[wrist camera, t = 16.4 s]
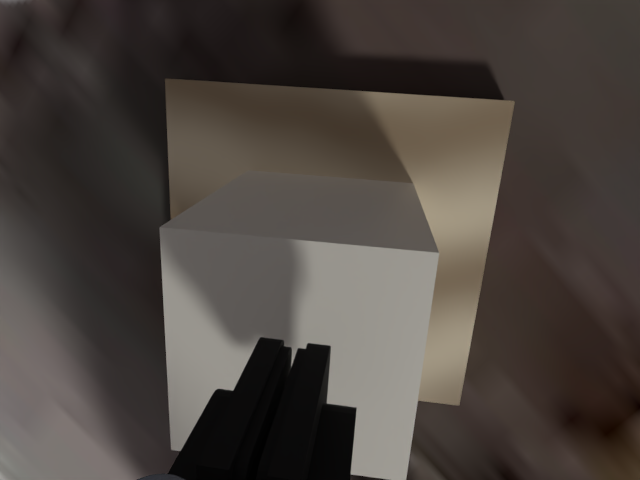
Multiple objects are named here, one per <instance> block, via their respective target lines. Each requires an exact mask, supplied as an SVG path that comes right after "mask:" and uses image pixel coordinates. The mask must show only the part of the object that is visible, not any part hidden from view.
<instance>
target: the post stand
mask: <svg viewBox="0 0 640 480" xmlns="http://www.w3.org/2000/svg"><path fill="white" fill-rule="evenodd" d="M165 92H166V116H167V140H168V164H169V188H170V213H171V219H173V218H175V217H176V216H178V215H179V214H181V213H182V212H184V211H186V210H187V209H189V208H190V207H192V206H193V205H195V204H196V203H198V202H200V201H201V200H203V199H204V198H206V197H207V196H209V195H210V194H212V193H214V192H215V191H217V190H218V189H220V188H221V187H223V186H224V185H226V184H228V183H229V182H231V181H232V180H234V179H235V178H237V177H238V176H240V175H242V174H243V173H245V172H246V171H248V170H252V171H265V172H278V173H290V174H303V175H316V176H329V177H341V178H354V179H367V180H379V181H392V182H405V183H413V184H414V186H415V189H416V192H417V194H418V197H419V200H420V202H421V205H422V208H423V211H424V213H425V216H426V219H427V221H428V224H429V227H430V229H431V232H432V235H433V237H434V240H435V243H436V245H437V248H438V251H439V258H438V265H437V272H436V279H435V286H434V292H433V299H432V306H431V313H430V320H429V327H428V334H427V340H426V347H425V354H424V361H423V368H422V375H421V382H420V388H419V395H418V401H426V402H434V403H442V404H450V405H459V404H460V398H461V393H462V387H463V382H464V376H465V371H466V366H467V360H468V355H469V349H470V344H471V338H472V333H473V327H474V322H475V316H476V311H477V305H478V300H479V294H480V289H481V283H482V278H483V273H484V267H485V262H486V256H487V251H488V245H489V240H490V234H491V229H492V223H493V218H494V212H495V207H496V201H497V196H498V190H499V185H500V180H501V174H502V169H503V163H504V158H505V152H506V147H507V141H508V136H509V130H510V125H511V119H512V114H513V108H514V103H515V101H509V100H495V99H480V98H464V97H449V96H433V95H417V94H402V93H386V92H371V91H355V90H340V89H324V88H308V87H293V86H277V85H262V84H246V83H231V82H215V81H200V80H184V79H165Z"/></svg>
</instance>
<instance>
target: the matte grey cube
mask: <svg viewBox="0 0 640 480" xmlns="http://www.w3.org/2000/svg"><path fill="white" fill-rule="evenodd" d="M159 229H160V248H161V267H162V286H163V305H164V324H165V344H166V363H167V382H168V401H169V420H170V439H171V450H176V451H181V450H182V448H183V446H184V444H185V442H186V441H187V439H188V437H189V435H190V434H191V432H192V430H193V428H194V426H195V425H196V423H197V421H198V419H199V417H200V416H201V414H202V412H203V410H204V409H205V407H206V405H207V403H208V401H209V400H210V398H211V396H212V394H213V393H214V392H215V390H217V389H225V390H232V391H233V390H234V388H235V386H236V384H237V382H238V380H239V378H240V376H241V374H242V372H243V370H244V368H245V366H246V364H247V362H248V360H249V358H250V356H251V354H252V352H253V350H254V348H255V346H256V344H257V342H258V340H259V338H260V337H264V338H272V339H280V340H284V346H286V347H291V348H292V360H291V367H292V364H293V361H294V358H295V355H296V352H297V349H298V348H302V349H306V346H307V344H308V343H313V344H321V345H329V346H331V354H330V368H329V381H328V394H327V404H334V405H342V406H349V407H356V408H357V410H356V421H355V432H354V442H353V453H352V464H351V475H359V476H366V477H373V478H381V479H388V480H406V478H407V471H408V464H409V457H410V450H411V443H412V436H413V430H414V423H415V416H416V409H417V402H418V395H419V388H420V382H421V375H422V368H423V361H424V354H425V347H426V340H427V334H428V327H429V320H430V313H431V306H432V299H433V292H434V286H435V279H436V272H437V265H438V258H439V251H438V248H437V245H436V243H435V240H434V237H433V235H432V232H431V229H430V227H429V224H428V221H427V219H426V216H425V213H424V211H423V208H422V205H421V202H420V200H419V197H418V194H417V192H416V189H415V186H414V184H413V183H405V182H392V181H379V180H367V179H354V178H341V177H329V176H316V175H303V174H290V173H278V172H265V171H252V170H248V171H246V172H245V173H243V174H242V175H240V176H238V177H237V178H235V179H234V180H232V181H231V182H229V183H228V184H226V185H224V186H223V187H221V188H220V189H218V190H217V191H215V192H214V193H212V194H210V195H209V196H207V197H206V198H204V199H203V200H201V201H200V202H198V203H196V204H195V205H193V206H192V207H190V208H189V209H187V210H186V211H184V212H182V213H181V214H179V215H178V216H176V217H175V218H173V219H171V220H170V221H168V222H167V223H165V224H164V225H162V226H161V227H159Z"/></svg>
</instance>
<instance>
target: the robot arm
mask: <svg viewBox="0 0 640 480" xmlns="http://www.w3.org/2000/svg"><path fill="white" fill-rule="evenodd" d="M330 354H331V346H329V345H321V344H313V343H308V344H307V346H306V349H302V348H298V349H297V352H296V355H295V358H294V361H293V364H292V367H291V360H292V348H291V347H286V346H284V340H280V339H272V338H264V337H260V338H259V340H258V342H257V344H256V346H255V348H254V350H253V352H252V354H251V356H250V358H249V360H248V362H247V364H246V366H245V368H244V370H243V372H242V374H241V376H240V378H239V380H238V382H237V384H236V386H235V388H234V390H233V391H232V390H225V389H217V390H215V392H214V393H213V394H212V396H211V398H210V400H209V401H208V403H207V405H206V407H205V409H204V410H203V412H202V414H201V416H200V417H199V419H198V421H197V423H196V425H195V426H194V428H193V430H192V432H191V434H190V435H189V437H188V439H187V441H186V442H185V444H184V446H183V448H182V450H181V451H180V453H179V455H178V457H177V458H176V460H175V462H174V464H173V466H172V467H171V469H170V471H169V473H168V474H155V475H149V476H146V477H143V478H140V479H137V480H350V475H351V464H352V453H353V442H354V432H355V421H356V410H357V408H356V407H349V406H342V405H334V404H327V394H328V381H329V368H330Z"/></svg>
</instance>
